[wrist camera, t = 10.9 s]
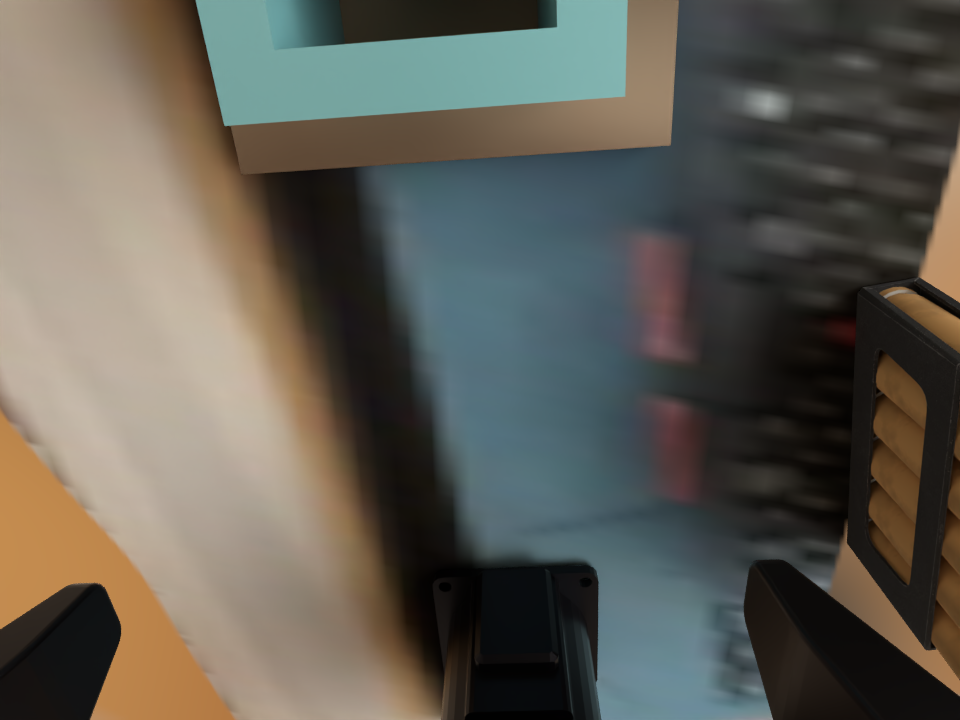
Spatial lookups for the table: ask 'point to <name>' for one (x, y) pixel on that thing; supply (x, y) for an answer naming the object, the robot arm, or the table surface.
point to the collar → (404, 62)
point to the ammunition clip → (909, 456)
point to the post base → (482, 130)
